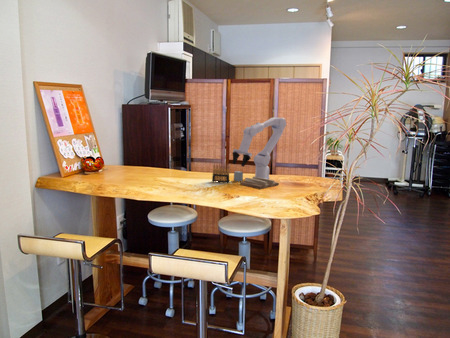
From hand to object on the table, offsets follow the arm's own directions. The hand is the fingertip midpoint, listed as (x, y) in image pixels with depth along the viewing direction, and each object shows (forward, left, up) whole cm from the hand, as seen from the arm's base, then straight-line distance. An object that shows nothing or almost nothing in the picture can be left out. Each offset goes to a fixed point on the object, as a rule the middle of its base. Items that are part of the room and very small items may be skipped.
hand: (238, 165), depth 238 cm
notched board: (-4, +15, -11) cm, 19 cm away
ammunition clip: (+11, -5, -11) cm, 16 cm away
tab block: (-1, -1, -11) cm, 11 cm away
